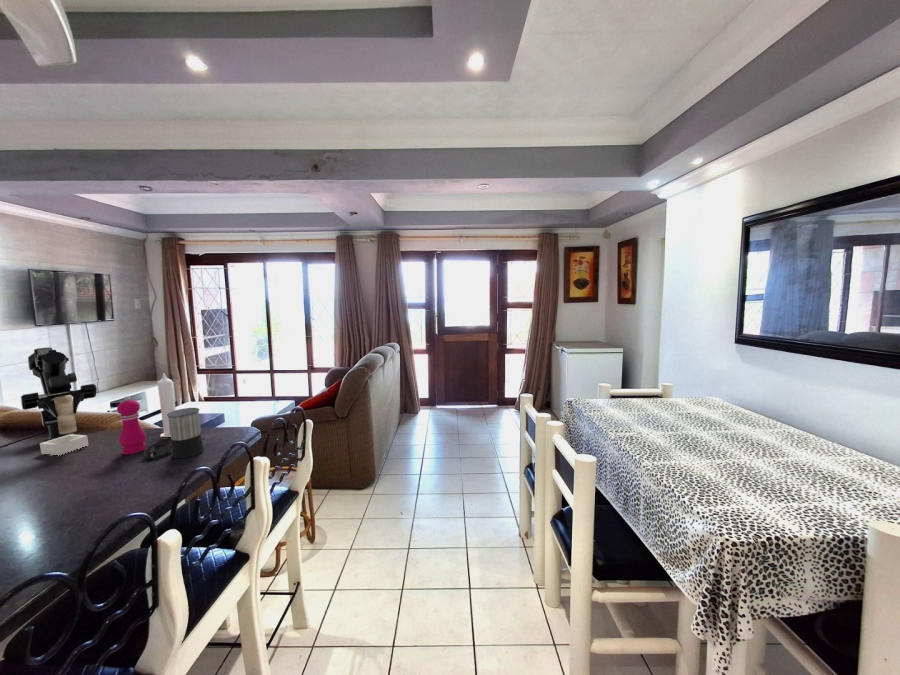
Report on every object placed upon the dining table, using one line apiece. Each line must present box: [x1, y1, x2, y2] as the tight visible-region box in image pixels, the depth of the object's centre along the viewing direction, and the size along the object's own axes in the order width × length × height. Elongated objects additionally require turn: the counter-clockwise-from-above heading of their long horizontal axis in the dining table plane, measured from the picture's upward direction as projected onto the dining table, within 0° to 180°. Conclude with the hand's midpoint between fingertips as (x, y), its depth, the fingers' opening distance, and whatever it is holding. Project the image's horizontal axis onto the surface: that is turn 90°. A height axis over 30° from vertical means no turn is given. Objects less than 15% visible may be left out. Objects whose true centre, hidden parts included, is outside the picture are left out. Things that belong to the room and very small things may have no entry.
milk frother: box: [143, 407, 205, 460], centre depth 126 cm, size 14×16×15 cm
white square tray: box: [39, 434, 89, 457], centre depth 134 cm, size 9×9×4 cm
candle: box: [157, 372, 177, 438], centre depth 145 cm, size 7×7×25 cm
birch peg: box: [54, 395, 78, 434], centre depth 132 cm, size 4×4×13 cm
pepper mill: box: [116, 395, 147, 456], centre depth 130 cm, size 7×7×20 cm
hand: (66, 414), depth 132 cm, fingers closed on birch peg, 4 cm apart
